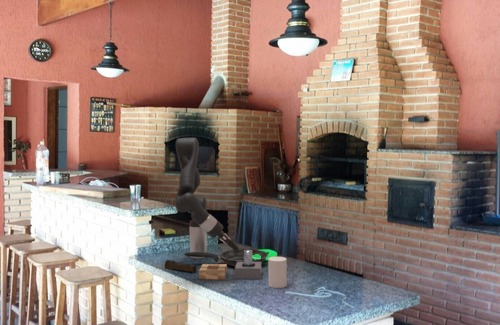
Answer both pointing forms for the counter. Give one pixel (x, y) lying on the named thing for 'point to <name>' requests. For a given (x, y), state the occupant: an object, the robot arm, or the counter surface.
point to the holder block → (248, 271)
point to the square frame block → (213, 271)
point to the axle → (247, 258)
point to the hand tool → (180, 266)
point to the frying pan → (230, 256)
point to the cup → (277, 272)
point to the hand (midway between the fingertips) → (234, 247)
